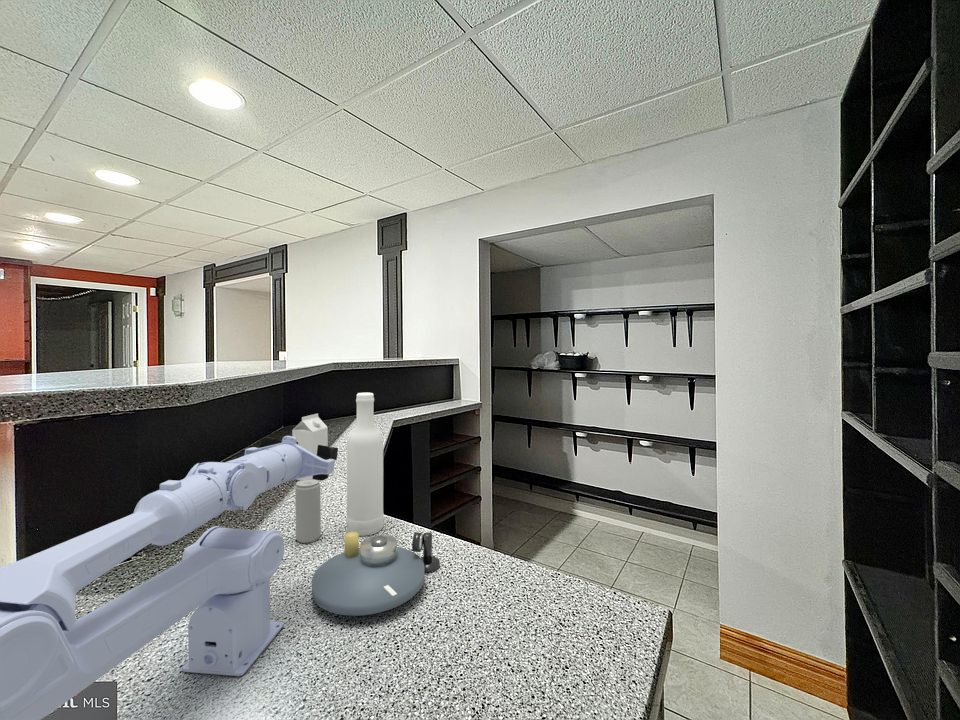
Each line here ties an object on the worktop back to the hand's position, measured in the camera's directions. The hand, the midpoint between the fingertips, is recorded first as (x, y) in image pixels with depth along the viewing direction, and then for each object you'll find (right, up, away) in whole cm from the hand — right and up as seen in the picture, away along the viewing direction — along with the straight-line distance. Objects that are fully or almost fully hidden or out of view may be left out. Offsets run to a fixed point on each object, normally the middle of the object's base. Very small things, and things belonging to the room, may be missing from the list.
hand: (315, 450), depth 75 cm
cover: (+12, -19, -2) cm, 22 cm away
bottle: (+4, -21, +17) cm, 27 cm away
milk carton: (-22, -20, +51) cm, 59 cm away
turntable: (+11, -20, -6) cm, 24 cm away
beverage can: (-6, -21, +12) cm, 25 cm away
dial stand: (+20, -22, +1) cm, 30 cm away
